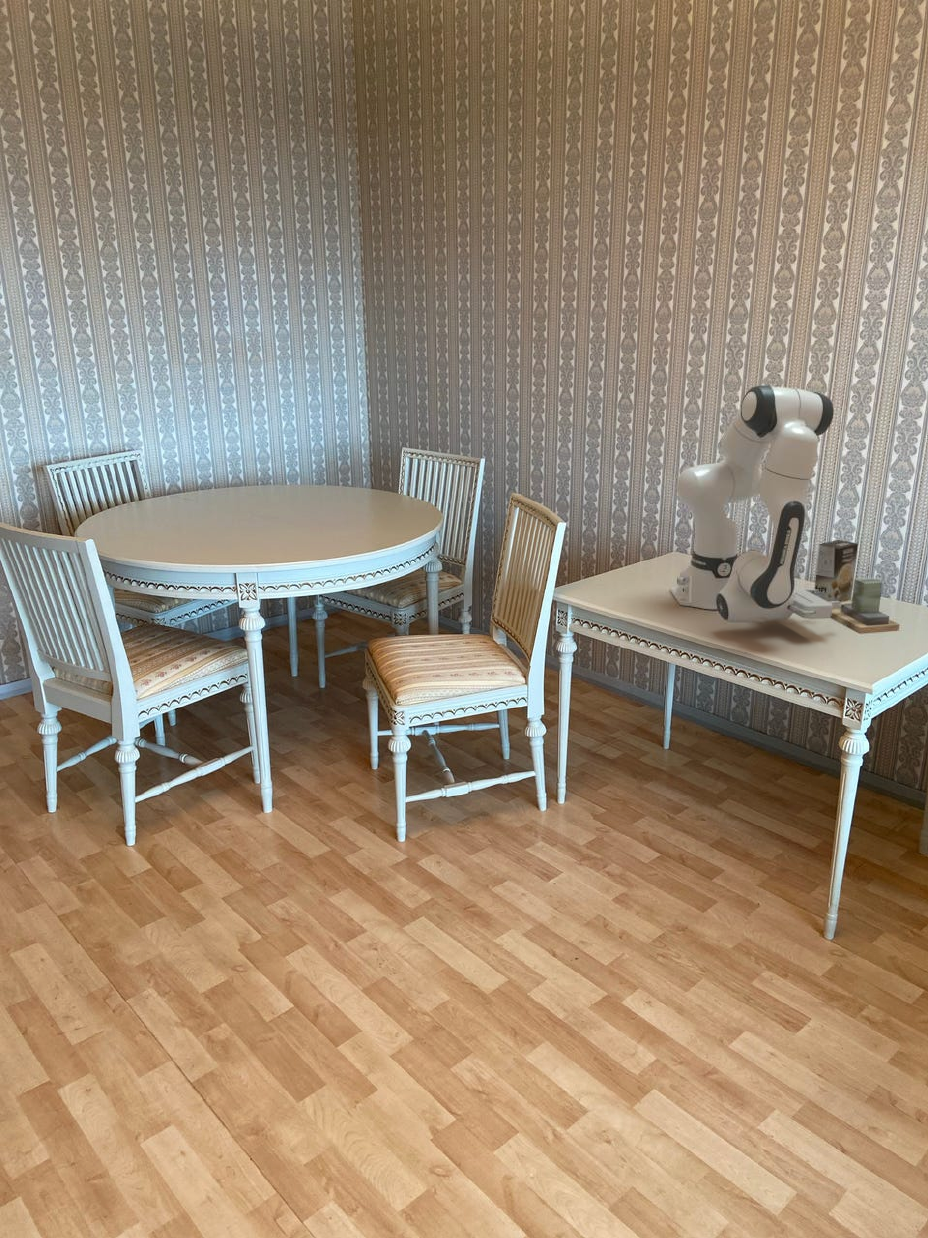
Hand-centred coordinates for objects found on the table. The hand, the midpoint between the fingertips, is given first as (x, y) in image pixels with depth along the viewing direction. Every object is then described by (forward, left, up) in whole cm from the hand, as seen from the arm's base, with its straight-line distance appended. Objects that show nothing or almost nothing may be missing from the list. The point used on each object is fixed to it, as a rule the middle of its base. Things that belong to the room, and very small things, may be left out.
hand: (828, 598), depth 250 cm
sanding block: (0, +11, -6) cm, 12 cm away
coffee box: (-21, +15, -8) cm, 27 cm away
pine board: (-4, +11, -8) cm, 14 cm away
